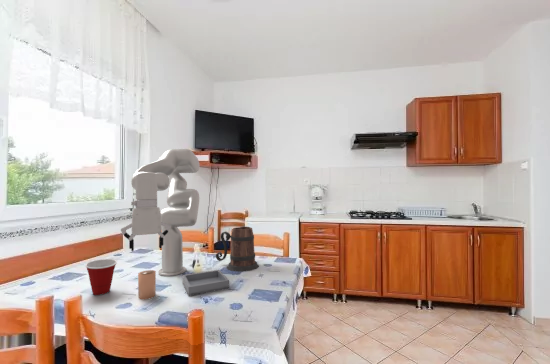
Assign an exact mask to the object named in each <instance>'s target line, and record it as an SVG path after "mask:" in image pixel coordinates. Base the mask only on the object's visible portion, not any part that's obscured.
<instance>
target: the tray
mask: <svg viewBox="0 0 550 364" xmlns="http://www.w3.org/2000/svg"><path fill="white" fill-rule="evenodd" d="M181 280H182V282H181V283H182V286H183V288H184V290H185V292H186V294H187V296H188V297H193V296H199V295H203V294H209V293H214V292H220V291H224V290H230V279H229V278H228V277H227V276H226V275H225V274H224V273H223V272H222V271H221V270H220V269H216V270H215V269H214V270H210V271H209V270H208V271H202V272H201V271H200V272H196V273H188V274H183V275H182V279H181Z"/></svg>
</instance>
